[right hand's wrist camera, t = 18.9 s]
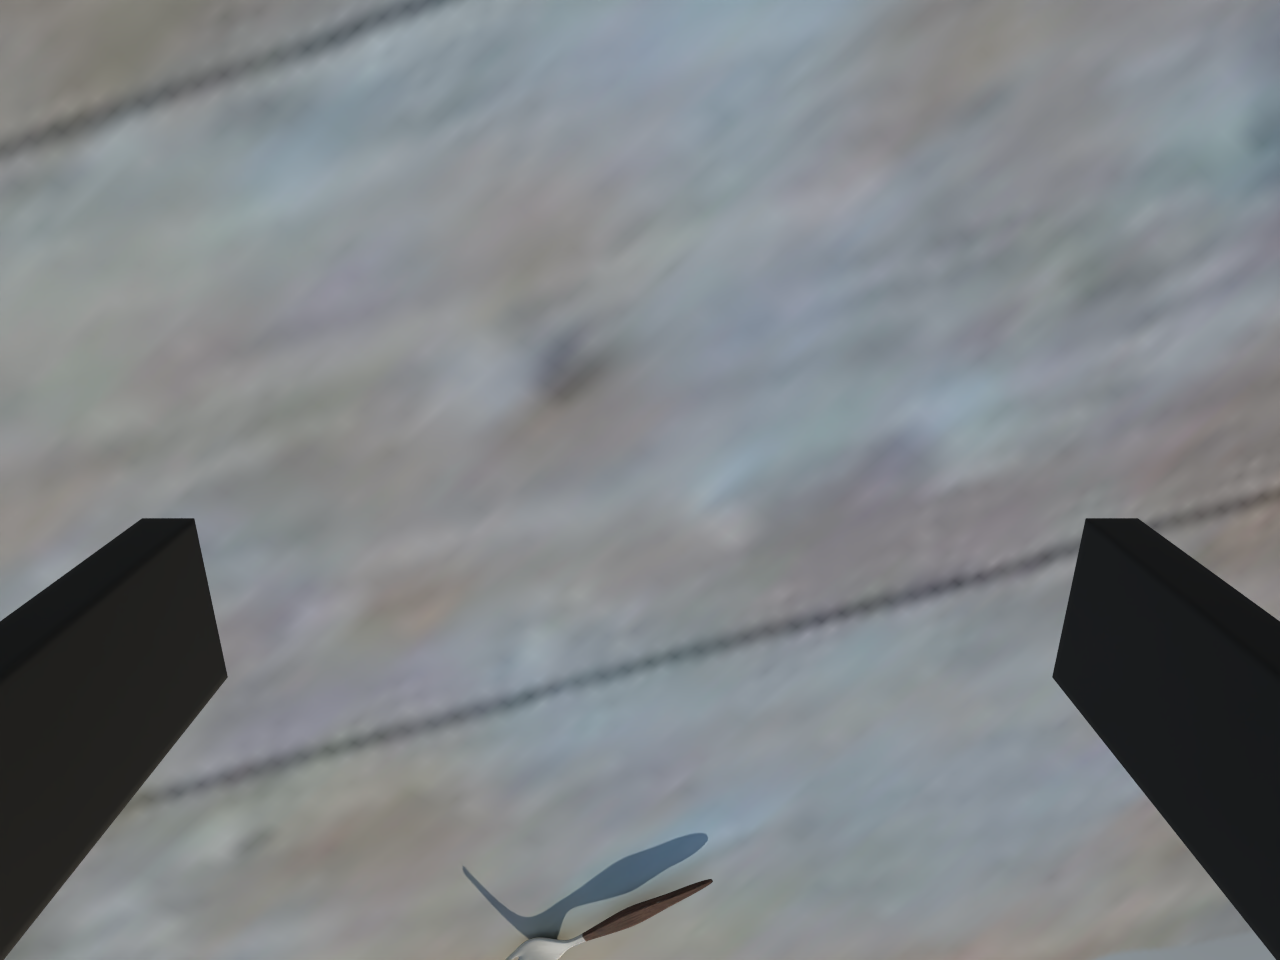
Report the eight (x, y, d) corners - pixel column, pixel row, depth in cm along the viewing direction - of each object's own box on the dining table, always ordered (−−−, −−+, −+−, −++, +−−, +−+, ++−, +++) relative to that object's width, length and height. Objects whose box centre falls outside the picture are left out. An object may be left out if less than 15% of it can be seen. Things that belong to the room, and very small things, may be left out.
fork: (721, 887, 51) (725, 915, 49) (506, 983, 54) (501, 1013, 52) (701, 859, 50) (703, 886, 48) (482, 958, 53) (477, 987, 51)
